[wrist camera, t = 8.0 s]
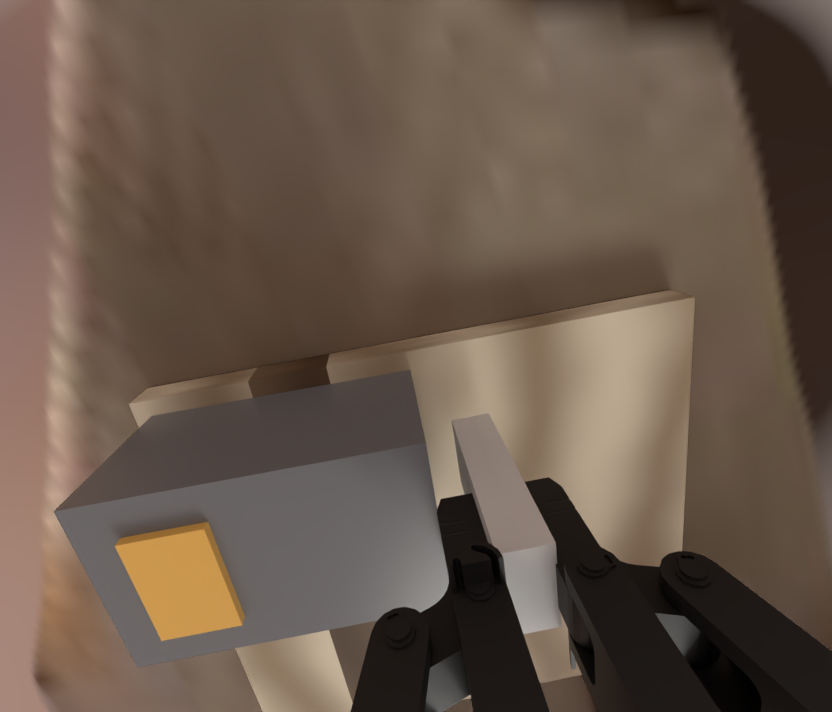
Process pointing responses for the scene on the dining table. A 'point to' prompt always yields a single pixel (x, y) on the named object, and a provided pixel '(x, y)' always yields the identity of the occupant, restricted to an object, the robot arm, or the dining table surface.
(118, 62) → the dining table surface
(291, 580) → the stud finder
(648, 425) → the plywood panel
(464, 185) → the dining table surface
